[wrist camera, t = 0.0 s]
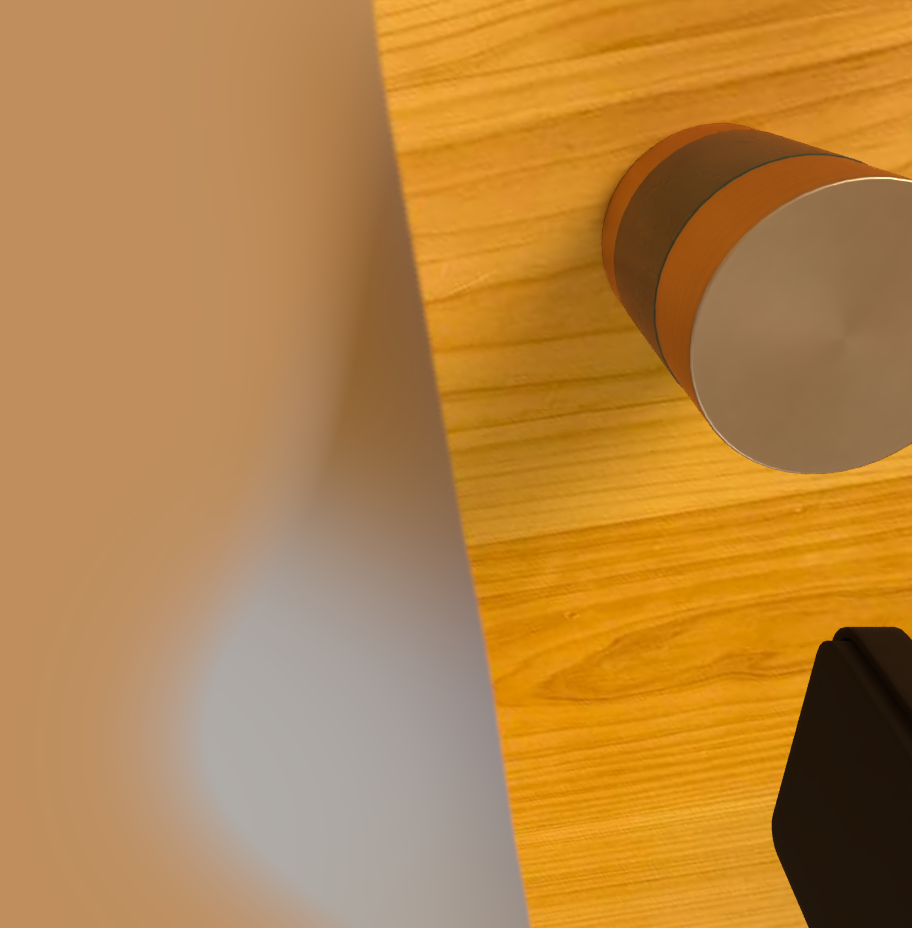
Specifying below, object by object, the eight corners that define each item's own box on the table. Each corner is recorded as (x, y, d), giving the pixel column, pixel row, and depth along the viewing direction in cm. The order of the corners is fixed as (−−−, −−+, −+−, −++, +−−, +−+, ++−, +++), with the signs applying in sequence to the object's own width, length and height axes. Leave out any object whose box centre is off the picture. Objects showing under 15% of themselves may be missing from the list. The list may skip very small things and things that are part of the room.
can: (717, 71, 25) (881, 98, 16) (854, 225, 27) (1064, 322, 19) (556, 245, 27) (623, 353, 18) (695, 375, 30) (815, 527, 21)
